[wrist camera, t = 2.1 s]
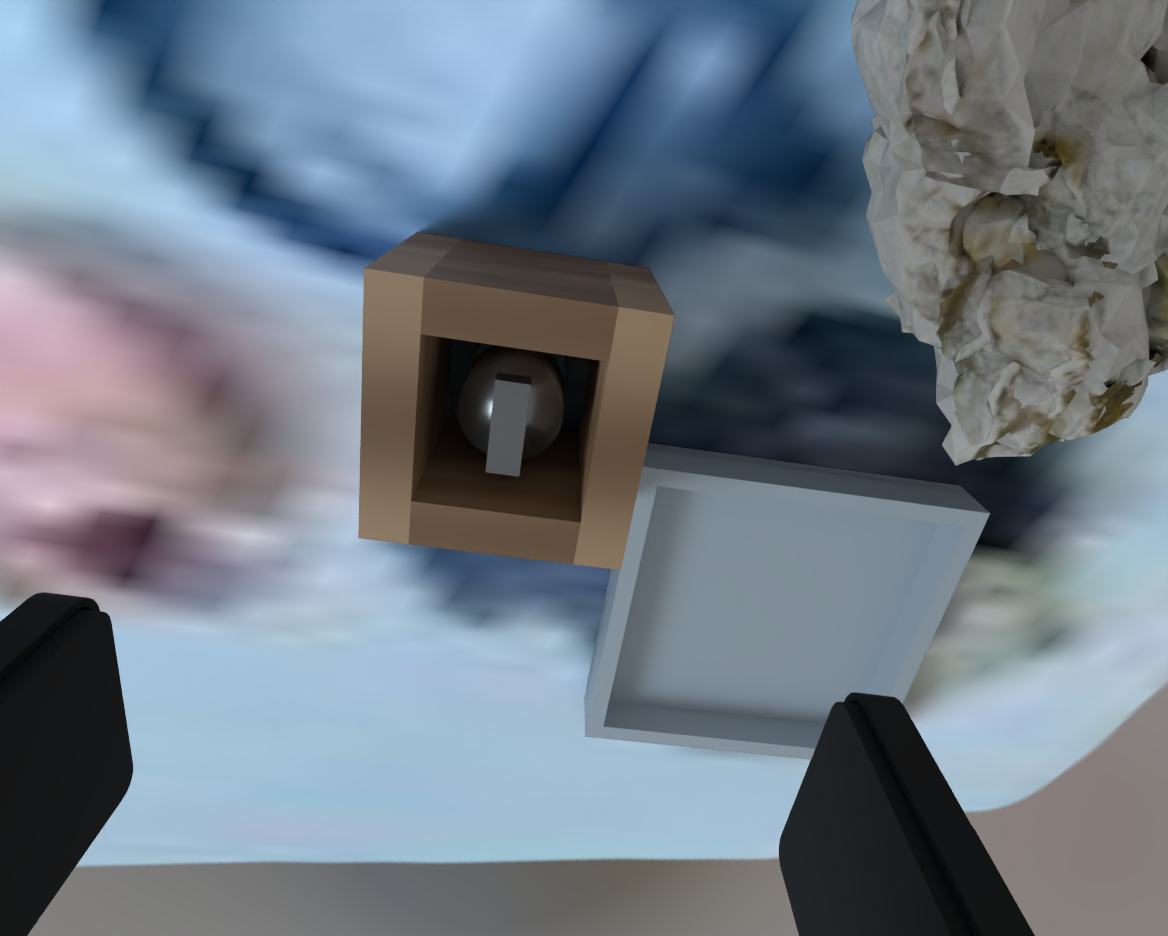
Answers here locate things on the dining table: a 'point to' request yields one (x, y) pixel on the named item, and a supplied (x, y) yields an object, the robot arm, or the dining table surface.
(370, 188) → the dining table surface
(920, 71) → the rock
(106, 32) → the dining table surface
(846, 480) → the tray
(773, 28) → the dining table surface
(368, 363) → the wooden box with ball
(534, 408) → the grey rounded cylinder
